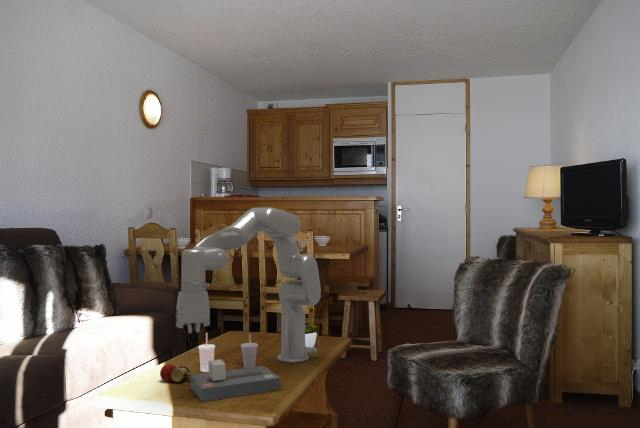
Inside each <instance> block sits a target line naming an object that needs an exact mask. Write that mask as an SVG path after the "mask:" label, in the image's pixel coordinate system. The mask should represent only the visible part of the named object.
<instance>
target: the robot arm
mask: <svg viewBox="0 0 640 428" xmlns="http://www.w3.org/2000/svg"><path fill="white" fill-rule="evenodd" d="M301 226H302V225H301V221H300V219H299V217H298V216H297V215H296V214H293V213H290V212H288V211H285V210H282V209H278V208H277V207H276V208H275V207H268V206H267V207H265V206H264V207H253V208H250V209H248V210H247V211H245V212H244V213H243V214H242V215H241V216H240V217H239V218H237V220H235V221H234V222H233V223H231V224H230V225H229V226H228V227H226V228H223V229H220V230H218V231H216V232H215V233H212V234H210V235H208V236H206V237H205V238H203V239H201V240H200V241H199V242H198V243H197V244H195V246H194V247H192V248H188V249H184V250H182V253H181V278H180V279H181V281H180V282H181V286H180V288H181V289H180V290H181V291H178V294H177V300H176V311H175V318H176V319H175V321H176V324H175V327H177V328H179V329H184V330H185V331H186V332H187V344H189V345H190V346H191V347H192V346H197V344H198V342H199V333H200V331H201V330H202V329H203V328H204V327H208V326H210V325H211V321H210V318H211V315H210V314H211V311H210V310H211V309H210V299H209V298H210V297H209V293H208V290H207V288H210V287H211V284H210V282H209V283H208V282H207V281H206V271H215V272H216V271H221V270H224V269H225V268H226V267H227V266H228V265H229V264H228V263H229V261H230V258H229V254H228V253H227V251H230V250H235V249H239V248H241V247H243V246H245V245H247V244H248V243H249V242H250V241H251V239H253V238H254V237H255V236H256V235H258V233H260V232H262V233H263V234H264V235H265V236H267V237H269V238H270V239H271V241H272V242H273V244H274V245H275V246H274V247H275V250H276V257H277V265H278V270H279V274H280V275H281V276H283V277H284V278H290V279H287V280H284V281H282V282H281V283H280V285H279V287H278V298H279V299H278V300H279V303H280V310H281V311H280V313H281V315H280V316H281V317H280V318H281V320H280V321H281V323H280V324H281V327H280V329H281V335H280V336H281V353H280V354H278V355H277V360H278V361H279V362H282V363H291V364H294V363H303V362H306V361H308V360H309V359H310V355H309V354H310V353H312V354H313V353H317V347H311V346H310V347H309V346H306V313H305V310H304V307H303V306H316V305H317V304H318V303H319V301H320V300H321V297H322V295H321V294H322V289H321V282H320V274H319V273H320V272H319V266H318V261H316V258H315V257H314V256H312V255H310V254H307V253H304V254H303V253H300V252H299V249H298V248H299V247H298V242H297V239H296V236H297V235H298V234H299V233H300V231H301ZM302 305H303V306H302ZM192 324H194V327H193V326H192ZM192 327H193V328H192Z"/></svg>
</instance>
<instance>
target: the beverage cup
mask: <svg viewBox="0 0 640 428" xmlns="http://www.w3.org/2000/svg"><path fill="white" fill-rule="evenodd" d="M215 349H216V345H215V344H211V343H210V344H208V332H205V344H201V345H198V352H199V353H198V354H199V365H200V367H199V368H200V372H202V373H209V361H212V360H215Z"/></svg>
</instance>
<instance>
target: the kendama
mask: <svg viewBox="0 0 640 428" xmlns="http://www.w3.org/2000/svg"><path fill="white" fill-rule="evenodd" d="M199 374H205V372H202V373H201V372H191V369H190V367H189V366H187V365H180V366H179V367H177V366H176V365H174V364H172V363H167V364H164V365H163V366H162V367H161V369H160V372H159V375H160V378H161V380H163V382H167V383H168V382H169V383H170V382H176V383H178V382H181V381H184V380H187V379H190V376H191V375H199Z"/></svg>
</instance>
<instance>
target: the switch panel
mask: <svg viewBox="0 0 640 428" xmlns="http://www.w3.org/2000/svg"><path fill="white" fill-rule="evenodd" d="M225 372H226V379H224V380H217V381H213V380H212V379H211V378H210V377H209V372H205V373H204V374H199V375H191V376H190V378H189V381H190V383H189V385H190V389H191V390H192V391H193V393H194V394H195V395H196V397H197V398H198V399H199V401H201V403H203V402H204V403H205V402H211V401H218V400H224V399H231V398H237V397H245V396H251V395H256V394H257V395H258V394H264V393H270V392H275V391H281V377H280V376H279V375H277V374H276V373H274V372H273V371H272V370H270V369H269V368H267V367H266V366H264V365H259V366H255V367H252V368H244V367H243V368H238V369H231V370H225Z"/></svg>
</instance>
